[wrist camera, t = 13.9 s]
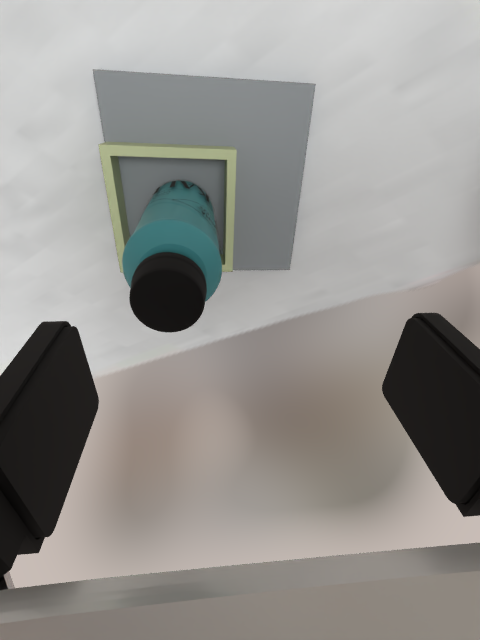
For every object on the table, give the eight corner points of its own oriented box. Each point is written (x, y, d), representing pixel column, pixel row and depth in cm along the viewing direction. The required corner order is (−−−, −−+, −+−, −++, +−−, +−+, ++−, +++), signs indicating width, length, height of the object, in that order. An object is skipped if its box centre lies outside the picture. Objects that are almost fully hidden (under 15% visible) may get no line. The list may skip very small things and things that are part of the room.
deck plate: (310, 84, 30) (326, 81, 26) (286, 264, 40) (295, 281, 36) (97, 71, 28) (81, 65, 24) (128, 265, 37) (120, 282, 34)
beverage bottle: (182, 250, 36) (169, 374, 19) (135, 203, 32) (71, 302, 16) (227, 212, 34) (256, 311, 17) (183, 158, 31) (167, 215, 14)
